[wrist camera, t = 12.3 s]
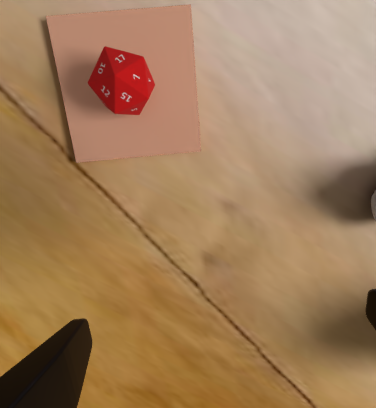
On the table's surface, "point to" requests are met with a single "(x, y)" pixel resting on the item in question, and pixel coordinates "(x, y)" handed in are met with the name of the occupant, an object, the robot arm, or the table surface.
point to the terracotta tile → (159, 68)
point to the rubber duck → (373, 204)
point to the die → (122, 81)
